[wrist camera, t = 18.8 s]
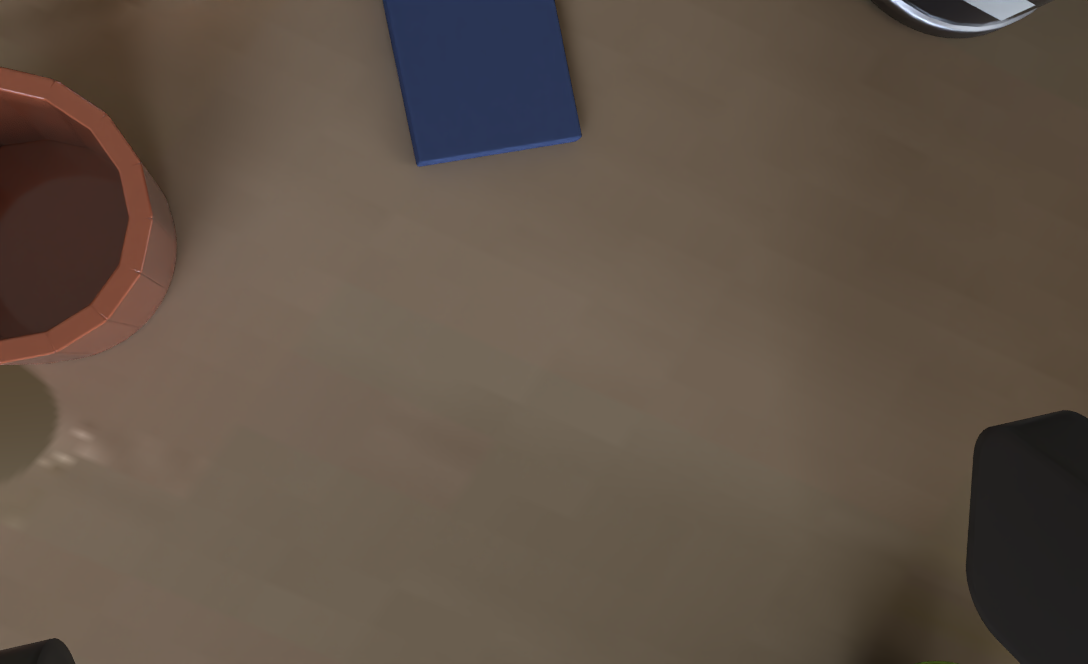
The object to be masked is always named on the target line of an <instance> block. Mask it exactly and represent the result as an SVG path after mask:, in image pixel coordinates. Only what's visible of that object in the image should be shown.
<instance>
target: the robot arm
mask: <svg viewBox="0 0 1088 664" xmlns="http://www.w3.org/2000/svg"><path fill="white" fill-rule="evenodd" d="M871 1H872V2H873V3H874V4H876V5H877V6H878V7H879V8H880V9H881V10H883V11H884V12H885V13H887V14H888V15H889V16H891V17H892V18H894V19H895V20H897V21H899V22H900V23H902V24H904V25H906V26H908V27H910V28H912V29H915V30H917V31H920V32H923V33H926V34H930V35H934V36H938V37H945V38H969V37H976V36H980V35H984V34H987V33H990V32H993V31H996V30H998V29H1000V28H1002V27H1005V26H1007V25H1009V24H1011V23H1013V22H1015V21H1017V20H1020V19H1022V18H1024V17H1025V16H1027V15H1028V14H1030V13H1032V12H1033V11H1034V10H1035V9H1037V8H1038V7H1040V6H1043V5H1045V4H1047V3H1049V2H1052V1H1054V0H871ZM966 574H967V582H968V586H969V590H970V594H971V597H972V600H973V602H974V605H975V607H976V609H977V611H978V613H979V615H980V617H981V619H982V621H983V622H984V624H985V625H986V627H987V628H988V629H989V631H990V632H991V633H992V634H993V636H994V637H995V638H996V639H997V640H998V641H999V642H1000V643H1001V644H1002V645H1003V646H1004V647H1005V648H1006V649H1007V650H1008V651H1009V652H1010V653H1011V654H1012V655H1013V656H1014V657H1015V658H1016V659H1017V660H1018V661H1019V662H1020V663H1021V664H1088V419H1087V418H1086V417H1084V416H1082V415H1080V414H1079V413H1077V412H1073V411H1068V410H1062V411H1058V412H1053V413H1049V414H1045V415H1040V416H1036V417H1032V418H1027V419H1023V420H1018V421H1014V422H1010V423H1005V424H1001V425H997V426H992V427H988V428H987V429H985V430H983V432H982V433H981V434H980V435H979V437H978V439H977V441H976V444H975V448H974V455H973V470H972V484H971V499H970V514H969V528H968V543H967V558H966ZM0 664H75V662H74V660H73V657H72V655H71V653H70V651H69V650H68V648H67V647H66V645H65V644H64V643H63V642H62V641H60V640H59V639H56V638H53V639H49V640H44V641H40V642H35V643H31V644H27V645H22V646H18V647H13V648H9V649H5V650H0Z"/></svg>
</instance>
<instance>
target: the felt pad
mask: <svg viewBox="0 0 1088 664" xmlns="http://www.w3.org/2000/svg"><path fill="white" fill-rule="evenodd" d="M383 4H384V9H385V14H386V19H387V24H388V29H389V33H390V38H391V43H392V48H393V53H394V58H395V62H396V67H397V72H398V77H399V82H400V87H401V91H402V96H403V101H404V106H405V111H406V116H407V120H408V125H409V130H410V135H411V140H412V145H413V149H414V154H415V159H416V164H417V166H419V167H420V166H426V165H432V164H438V163H445V162H451V161H457V160H463V159H469V158H475V157H482V156H488V155H494V154H500V153H506V152H513V151H519V150H525V149H531V148H537V147H543V146H550V145H556V144H562V143H568V142H574V141H577V140H578V139H580V138H581V136H582V134H581V129H580V124H579V120H578V115H577V110H576V105H575V100H574V95H573V90H572V85H571V80H570V75H569V70H568V65H567V60H566V55H565V50H564V45H563V40H562V35H561V30H560V25H559V21H558V16H557V11H556V6H555V1H554V0H383Z"/></svg>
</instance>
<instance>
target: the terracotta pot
mask: <svg viewBox="0 0 1088 664" xmlns="http://www.w3.org/2000/svg"><path fill="white" fill-rule="evenodd" d="M176 255H177V239H176V232H175V225H174V221H173V218H172V214H171V211H170V208H169V206H168V202H167V200H166V197H165V195H164V194H163V192H162V191H161V189H160V188H159V186H158V185H157V184H156V182H155V181H154V179H153V178H152V176H151V175H150V173H149V172H148V171H147V169H146V168H145V166H144V165H143V163H142V162H141V161H140V159H139V158H138V156H137V155H136V153H135V152H134V151H133V149H132V148H131V146H130V145H129V143H128V142H127V141H126V139H125V138H124V136H123V135H122V133H121V132H120V131H119V129H118V128H117V126H116V125H115V124H114V122H113V121H112V119H111V118H110V116H109V115H107V114H106V112H104V111H103V110H101V109H100V108H98V107H97V106H95V105H94V104H92V103H91V102H89V101H88V100H86V99H85V98H83V97H81V96H80V95H78V94H77V93H75V92H74V91H72V90H71V89H69V88H68V87H66V86H65V85H63V84H62V83H60V82H59V81H55V80H54V79H51V78H47V77H43V76H38V75H34V74H30V73H26V72H21V71H17V70H13V69H9V68H4V67H0V365H13V364H14V365H15V364H50V363H55V362H60V361H67V360H75V359H80V358H84V357H88V356H92V355H96V354H98V353H100V352H103V351H105V350H108V349H110V348H112V347H114V346H115V345H117V344H119V343H121V342H123V341H124V340H126V339H127V338H128V337H130V336H131V335H133V334H134V333H135V332H136V331H138V330H139V329H140V328H141V327H142V326H143V325H144V324H145V323H146V322H147V321H148V320H149V319H150V317H151V316H152V315H153V314H154V312H155V311H156V310H157V308H158V307H159V305H160V304H161V302H162V300H163V299H164V297H165V295H166V293H167V290H168V288H169V286H170V283H171V280H172V277H173V273H174V269H175V263H176Z"/></svg>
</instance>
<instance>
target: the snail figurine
mask: <svg viewBox="0 0 1088 664" xmlns="http://www.w3.org/2000/svg"><path fill="white" fill-rule="evenodd" d="M915 664H958V663H953V662H945V661H927V662H920V663H915Z"/></svg>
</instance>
